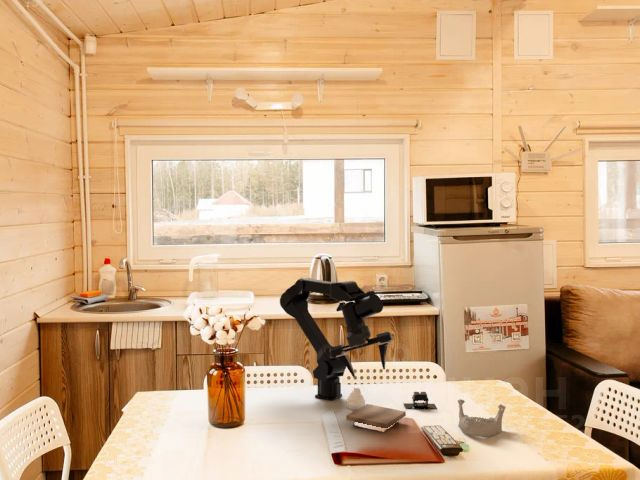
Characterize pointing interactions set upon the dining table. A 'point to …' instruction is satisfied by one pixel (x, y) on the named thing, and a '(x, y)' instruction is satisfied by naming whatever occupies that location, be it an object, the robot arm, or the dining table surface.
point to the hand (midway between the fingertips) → (369, 373)
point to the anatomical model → (480, 423)
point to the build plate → (415, 405)
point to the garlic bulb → (355, 399)
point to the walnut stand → (376, 416)
